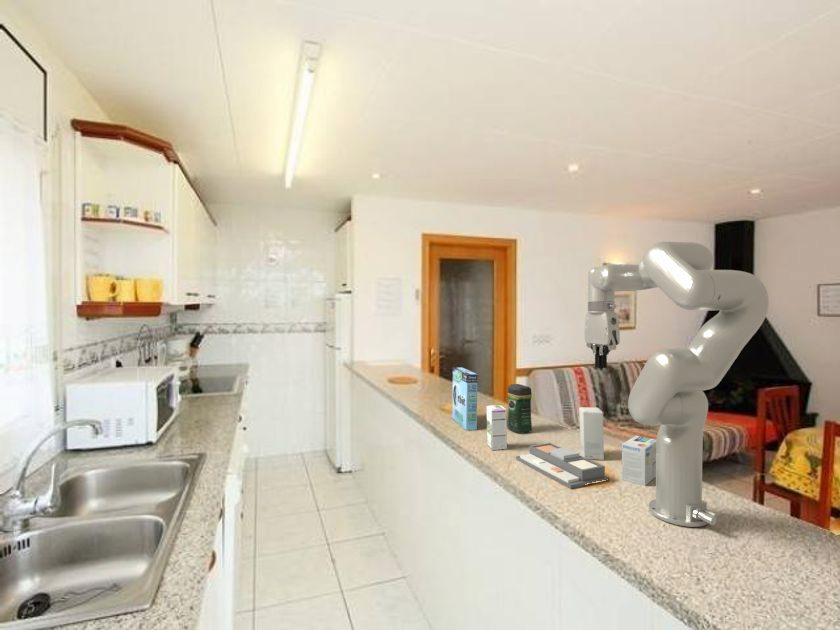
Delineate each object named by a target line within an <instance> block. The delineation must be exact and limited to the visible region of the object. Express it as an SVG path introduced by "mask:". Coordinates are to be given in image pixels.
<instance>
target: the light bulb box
mask: <svg viewBox="0 0 840 630" xmlns="http://www.w3.org/2000/svg"><path fill="white" fill-rule="evenodd" d="M656 440H657V438H656V439H655V438H649V437H643V436H640V435H639V436H638V435H634V436H633V437H631V438H629V439H627V440H626V441H624V442H622V444H621V480H624V481H627V482H630V483H634V484H637V485H641V486H646V485H648V484H649V483H650V482H652V480H654V479H656Z"/></svg>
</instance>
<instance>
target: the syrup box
mask: <svg viewBox="0 0 840 630" xmlns="http://www.w3.org/2000/svg"><path fill="white" fill-rule="evenodd" d="M507 429H508V420H507V408H505V407H504V406H503V405H501V404H493V405H486V445H488V446H489V447H490V448H491V449H492V450H491V449H490V450H491V451H502V450H501V449H505V450H507V449H508V447H507V446H508V437H507V436H508V435H507V434H508V433H507V432H508V431H507ZM488 446H487V447H488ZM498 449H500V450H498Z"/></svg>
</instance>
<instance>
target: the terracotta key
mask: <svg viewBox="0 0 840 630" xmlns="http://www.w3.org/2000/svg"><path fill="white" fill-rule="evenodd" d="M535 448H537V449H539V450H542V451H544V452H546V453H549V452H550V450H552V449H558V448H555V447H553V446H551V445H547V446H540V447H535Z"/></svg>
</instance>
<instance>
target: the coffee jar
mask: <svg viewBox="0 0 840 630" xmlns="http://www.w3.org/2000/svg"><path fill="white" fill-rule="evenodd" d="M507 388H508V389H507V397H508V410H507V411H508V413H507V429H509V431H512V432H514V433H516V434H520V433H521V434H528V433H531V432H532V429H533V428H532V424H533V423H532V409H531V408H532V406H531V402H532V396H533V395H532V388H531V387H530V386H527V385H523V384H520V383H511V384H509V386H508V387H507Z"/></svg>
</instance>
